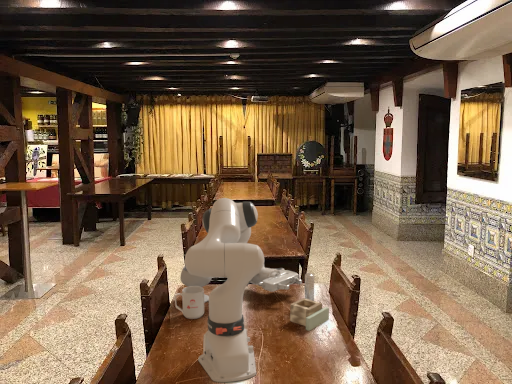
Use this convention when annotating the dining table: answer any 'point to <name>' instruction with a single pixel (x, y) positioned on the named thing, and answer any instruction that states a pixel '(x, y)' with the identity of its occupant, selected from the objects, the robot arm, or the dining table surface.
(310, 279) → the dowel
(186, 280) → the chalice
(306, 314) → the socket block
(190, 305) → the mug
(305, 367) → the dining table surface
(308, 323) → the wall
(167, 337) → the dining table surface
